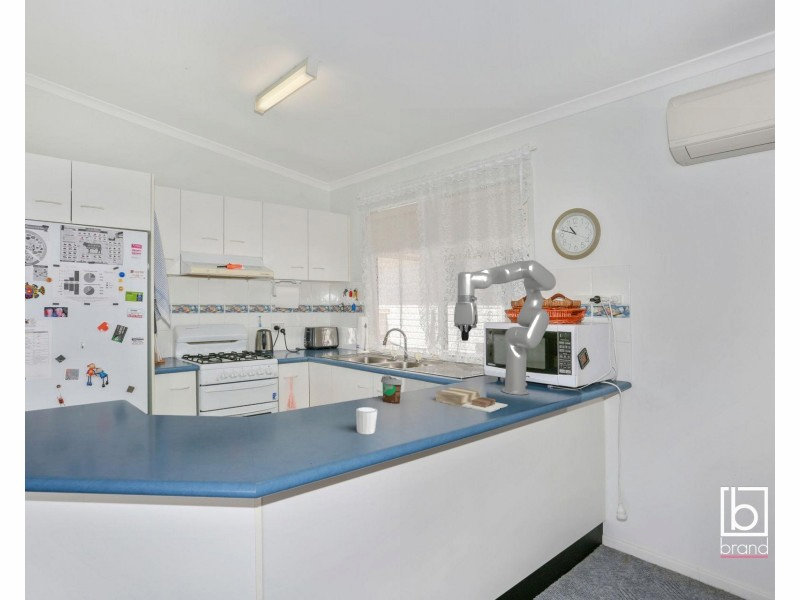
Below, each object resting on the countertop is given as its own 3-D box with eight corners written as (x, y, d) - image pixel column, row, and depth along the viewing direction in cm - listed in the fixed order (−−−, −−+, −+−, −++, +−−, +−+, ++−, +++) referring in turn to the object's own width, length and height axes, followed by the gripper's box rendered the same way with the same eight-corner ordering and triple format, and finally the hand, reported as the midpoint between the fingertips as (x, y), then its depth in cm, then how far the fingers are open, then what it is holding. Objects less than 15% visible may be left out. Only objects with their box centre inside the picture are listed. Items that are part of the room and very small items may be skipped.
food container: (375, 398, 186) (376, 374, 186) (388, 397, 188) (389, 374, 188) (387, 405, 174) (388, 380, 174) (401, 404, 177) (402, 379, 177)
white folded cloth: (480, 400, 190) (480, 399, 190) (507, 405, 183) (507, 404, 183) (461, 406, 178) (461, 405, 178) (489, 412, 170) (489, 411, 170)
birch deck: (455, 395, 198) (456, 386, 198) (479, 400, 191) (479, 391, 191) (435, 401, 186) (436, 391, 186) (460, 406, 178) (460, 396, 178)
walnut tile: (495, 399, 182) (495, 404, 182) (482, 396, 186) (482, 401, 186) (485, 402, 175) (484, 407, 175) (471, 400, 179) (471, 405, 179)
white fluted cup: (379, 429, 141) (380, 408, 141) (372, 436, 134) (373, 413, 134) (359, 427, 143) (360, 405, 143) (351, 433, 136) (352, 410, 136)
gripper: (484, 300, 195) (483, 341, 196) (455, 299, 204) (454, 338, 205) (477, 300, 189) (476, 342, 190) (447, 299, 198) (446, 339, 199)
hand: (464, 340), depth 197 cm, fingers closed
